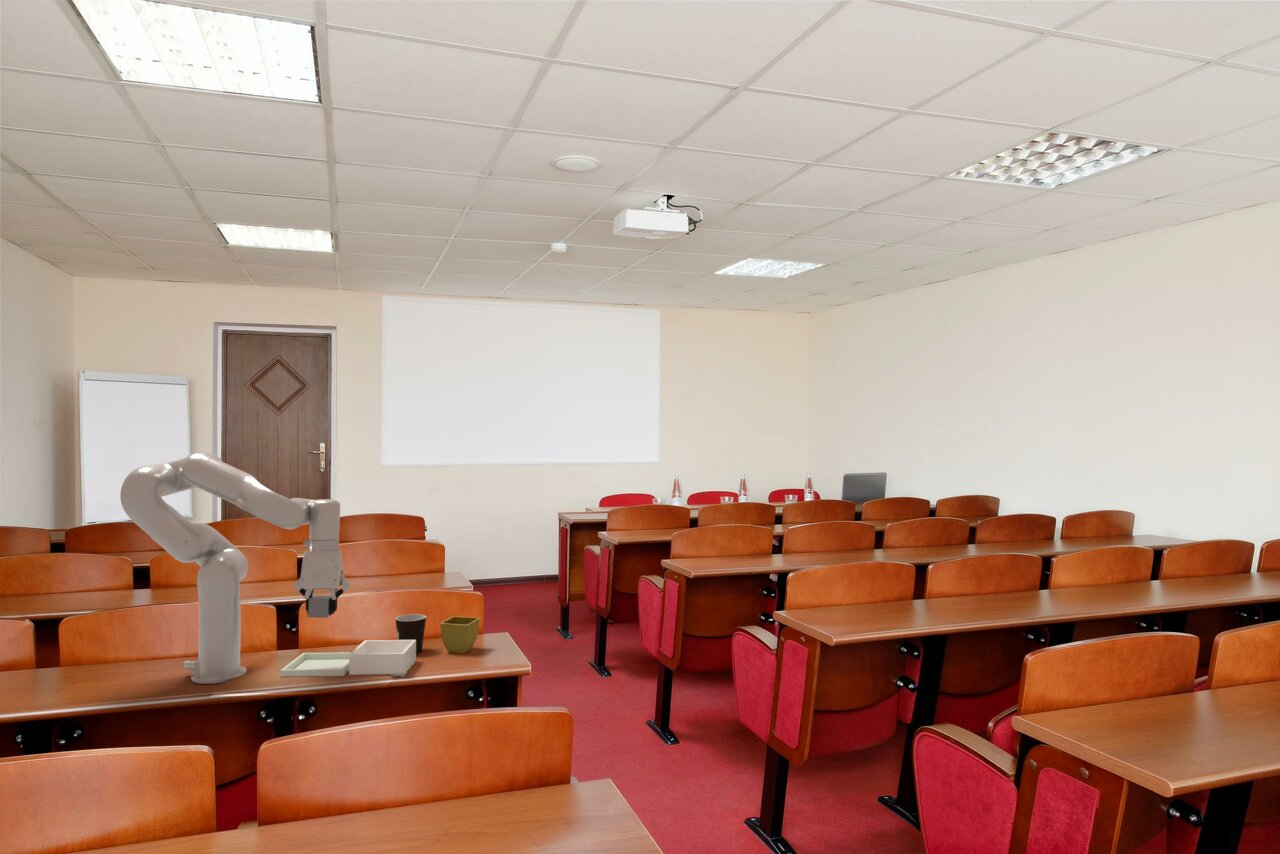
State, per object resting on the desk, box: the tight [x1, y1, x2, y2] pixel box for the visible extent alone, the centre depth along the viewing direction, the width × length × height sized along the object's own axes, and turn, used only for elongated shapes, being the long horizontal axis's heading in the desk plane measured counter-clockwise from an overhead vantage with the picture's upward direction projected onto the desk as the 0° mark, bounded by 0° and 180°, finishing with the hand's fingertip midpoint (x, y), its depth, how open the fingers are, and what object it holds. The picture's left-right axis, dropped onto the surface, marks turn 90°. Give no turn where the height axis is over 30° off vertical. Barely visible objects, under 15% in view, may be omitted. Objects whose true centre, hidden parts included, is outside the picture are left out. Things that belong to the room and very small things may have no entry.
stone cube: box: [307, 594, 332, 619], centre depth 206 cm, size 5×5×5 cm
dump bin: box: [348, 639, 417, 677], centre depth 207 cm, size 14×14×6 cm
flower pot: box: [440, 615, 480, 654], centre depth 226 cm, size 9×9×9 cm
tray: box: [279, 651, 352, 678], centre depth 206 cm, size 16×16×2 cm
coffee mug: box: [395, 613, 427, 655], centre depth 226 cm, size 12×9×10 cm
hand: (321, 612), depth 206 cm, fingers closed on stone cube, 5 cm apart
